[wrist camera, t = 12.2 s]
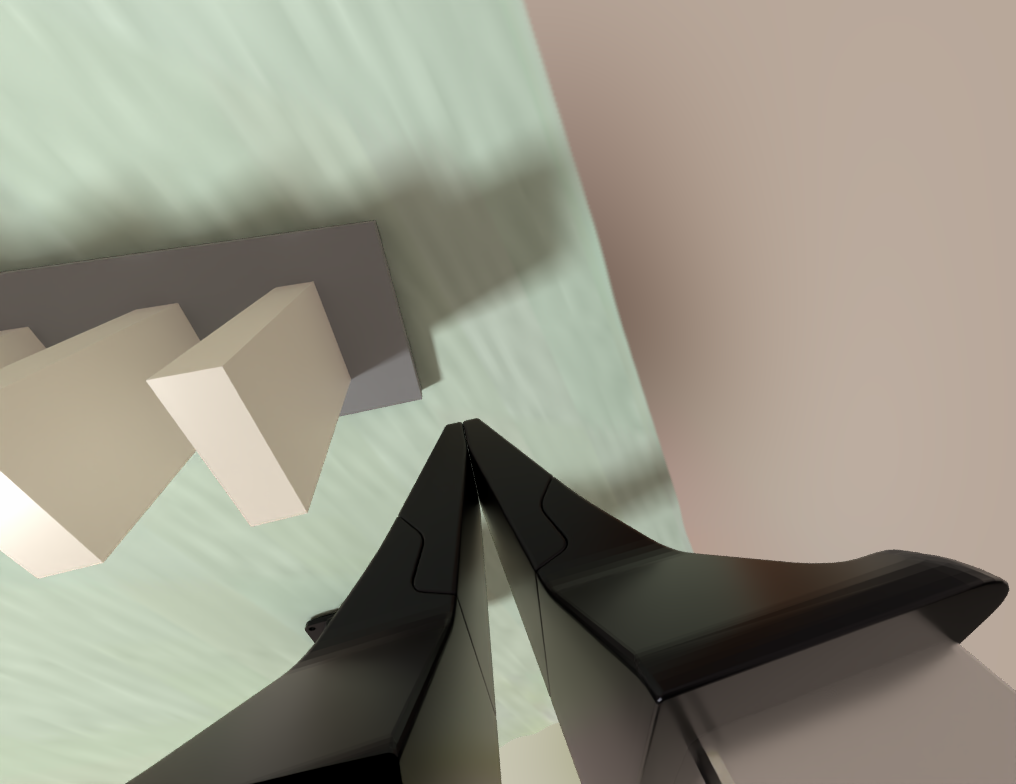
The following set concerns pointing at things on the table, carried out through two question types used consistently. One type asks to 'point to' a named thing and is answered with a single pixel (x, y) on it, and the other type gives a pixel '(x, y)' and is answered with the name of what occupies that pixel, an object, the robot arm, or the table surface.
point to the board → (236, 297)
